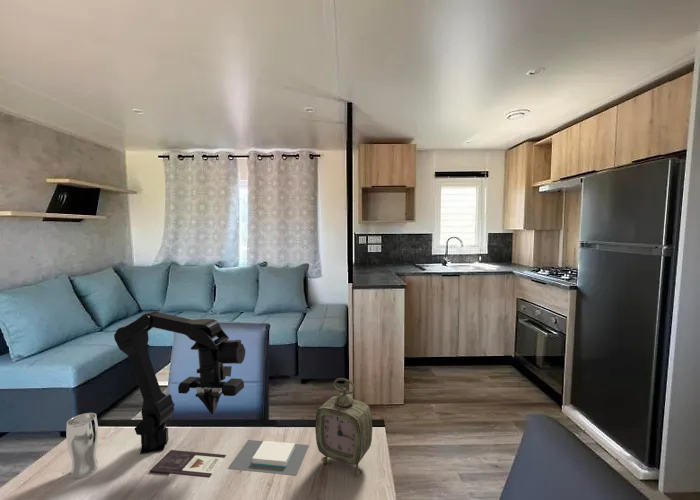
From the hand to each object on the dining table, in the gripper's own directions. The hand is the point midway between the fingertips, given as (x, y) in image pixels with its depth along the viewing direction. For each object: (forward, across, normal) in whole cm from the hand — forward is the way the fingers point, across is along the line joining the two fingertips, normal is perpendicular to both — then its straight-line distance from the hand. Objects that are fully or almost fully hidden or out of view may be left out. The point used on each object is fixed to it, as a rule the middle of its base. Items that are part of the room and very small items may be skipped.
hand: (213, 413), depth 101 cm
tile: (+11, -14, 0) cm, 18 cm away
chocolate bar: (+12, +4, +6) cm, 15 cm away
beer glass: (+11, +32, +14) cm, 36 cm away
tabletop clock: (+14, -40, -2) cm, 42 cm away
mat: (+12, -18, 0) cm, 22 cm away
